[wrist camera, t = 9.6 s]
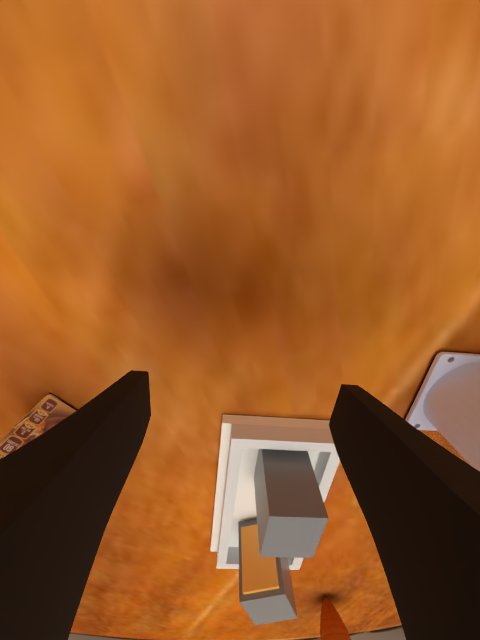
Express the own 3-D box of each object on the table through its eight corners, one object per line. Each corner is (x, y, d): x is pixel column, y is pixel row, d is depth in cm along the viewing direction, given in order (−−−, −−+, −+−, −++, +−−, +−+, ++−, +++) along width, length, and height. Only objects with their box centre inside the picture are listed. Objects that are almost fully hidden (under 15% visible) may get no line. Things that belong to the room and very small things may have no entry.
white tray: (342, 421, 22) (355, 444, 20) (300, 542, 30) (305, 570, 28) (222, 414, 22) (221, 438, 19) (211, 540, 30) (209, 568, 27)
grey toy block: (304, 441, 22) (328, 518, 16) (293, 481, 24) (311, 560, 19) (260, 439, 22) (269, 516, 16) (253, 479, 24) (259, 559, 18)
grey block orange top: (251, 545, 28) (255, 625, 23) (237, 519, 26) (238, 600, 21) (284, 538, 28) (297, 618, 23) (273, 511, 26) (284, 591, 20)
